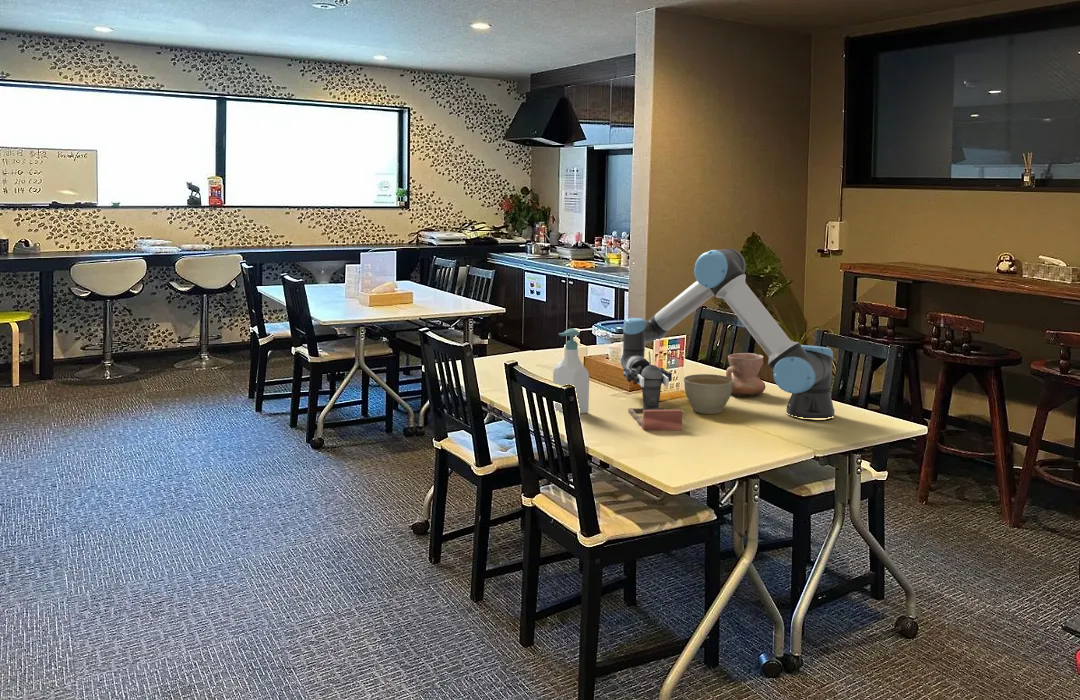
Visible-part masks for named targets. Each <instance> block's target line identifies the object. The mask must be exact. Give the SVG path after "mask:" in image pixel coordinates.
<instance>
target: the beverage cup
mask: <svg viewBox="0 0 1080 700" xmlns="http://www.w3.org/2000/svg"><path fill="white" fill-rule="evenodd" d="M651 360H652V359H651V351H650V350H649V351H648V362H649V366H647V367H645V368H644V369H643V371H642V373H641V376H642V377H643V378H644V387H641V390H642V391H641V392H642V394H641V395H642V408H643V410H658V408H660V407H659V405H660V400H661V399H660V398H661V389H662V386H663V385H662V384H663V383H662V380H663V375H662V371H661V370H660V368H661V367H658V366H657V365H654V364H652V361H651Z"/></svg>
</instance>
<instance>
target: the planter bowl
mask: <svg viewBox="0 0 1080 700" xmlns="http://www.w3.org/2000/svg"><path fill="white" fill-rule="evenodd" d="M683 382H684V384H683V385H684V386H683V387H684V392H685V395H686V397H687V400H688V402H689V404H690V405H691V407H692V410H693V411H694V412H696V413H699V414H707V415H711V414H714V415H715V414H720V413H721V412H722V411H723V408H724V407H725V406H726V404H727V403H728V401H729V400H730V398H731V395H732V394H731V392H732V385H733V382H734V380H733V379H732V378H729V377H726V375H721V374H713V373H712V374H710V373H709V374H708V373H703V374H702V373H700V374H697V373H696V374H690V375H687V376H684V377H683Z"/></svg>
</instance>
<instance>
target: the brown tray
mask: <svg viewBox="0 0 1080 700" xmlns="http://www.w3.org/2000/svg"><path fill="white" fill-rule="evenodd" d="M627 410H628V413H629V415H630V414H631V415H632V416H631V415H630V416H631V417H632V418H633V420H634V421H635V420H636V421H637V422H636V421H635V422H636V423H637V425H638V426H639V427H640V426H641V427H642V428H641V427H640V428H641V429H642V431H644V430H654V431H682V430H683V414H684V413H683V410H682V409H675V408H674V409H665V408H664V407H658V410H643V407H638V408H637V407H635V408H632V407H631V408H628V409H627ZM641 413H642V418H641V417H640V416H639V414H641Z"/></svg>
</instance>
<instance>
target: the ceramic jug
mask: <svg viewBox="0 0 1080 700" xmlns="http://www.w3.org/2000/svg"><path fill="white" fill-rule="evenodd" d="M727 360H728V361H727V362H728V364H729V366H728V367H727V369H726V370H725V371H726V372H725V376H726V377H729V378H732V379H733V380H734V382H733V385H732V392H731V395H734V396H738V395H739V397H755V395H756V396H759V395H761V394H763V393H764V392H765V390H766V386H767V385H766V383H765V382H764V380H762V379H760V378H759V377H758V374H759V372H760V370H761V368H762V366H763V365H764V356H763V355H761V354H757V353H752V352H751V353H750V352H741V353H740V352H739V353H732V354H729V355H727Z"/></svg>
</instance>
